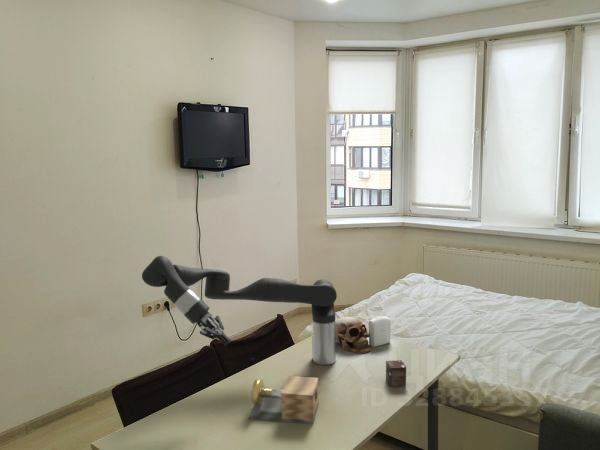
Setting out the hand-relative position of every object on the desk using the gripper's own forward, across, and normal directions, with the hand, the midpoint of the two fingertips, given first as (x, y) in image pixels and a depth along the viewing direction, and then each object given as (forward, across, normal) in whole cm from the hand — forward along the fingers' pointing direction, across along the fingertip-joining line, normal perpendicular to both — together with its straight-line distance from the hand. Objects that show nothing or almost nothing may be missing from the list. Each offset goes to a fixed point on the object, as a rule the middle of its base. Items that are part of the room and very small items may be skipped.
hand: (228, 343), depth 159 cm
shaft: (+26, 0, -2) cm, 26 cm away
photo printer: (+49, -62, +18) cm, 81 cm away
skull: (+41, -58, +10) cm, 72 cm away
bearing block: (+29, 0, -2) cm, 29 cm away
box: (+54, -26, +23) cm, 64 cm away
